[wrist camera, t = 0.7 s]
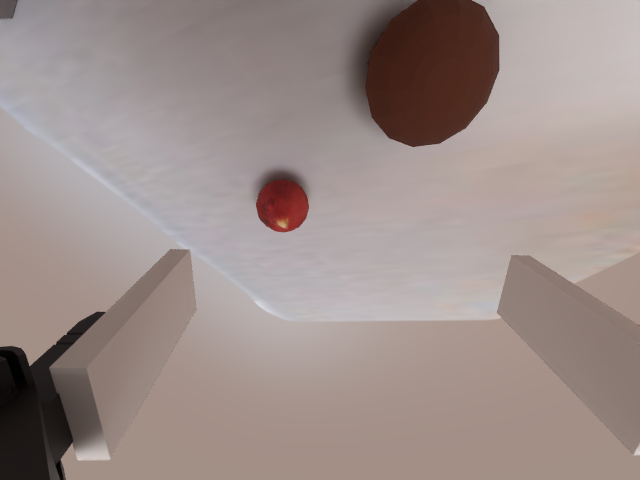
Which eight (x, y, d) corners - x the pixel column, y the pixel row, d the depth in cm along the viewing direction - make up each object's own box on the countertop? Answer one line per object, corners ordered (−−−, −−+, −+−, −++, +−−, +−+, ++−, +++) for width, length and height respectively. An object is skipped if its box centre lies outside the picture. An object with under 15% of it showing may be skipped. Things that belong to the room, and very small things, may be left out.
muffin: (443, 132, 38) (483, 166, 30) (347, 121, 37) (361, 153, 28) (485, 4, 31) (552, 2, 23) (369, -14, 30) (395, -23, 22)
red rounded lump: (265, 214, 43) (259, 252, 36) (254, 172, 39) (246, 205, 33) (310, 208, 42) (312, 245, 36) (304, 165, 39) (305, 197, 33)
